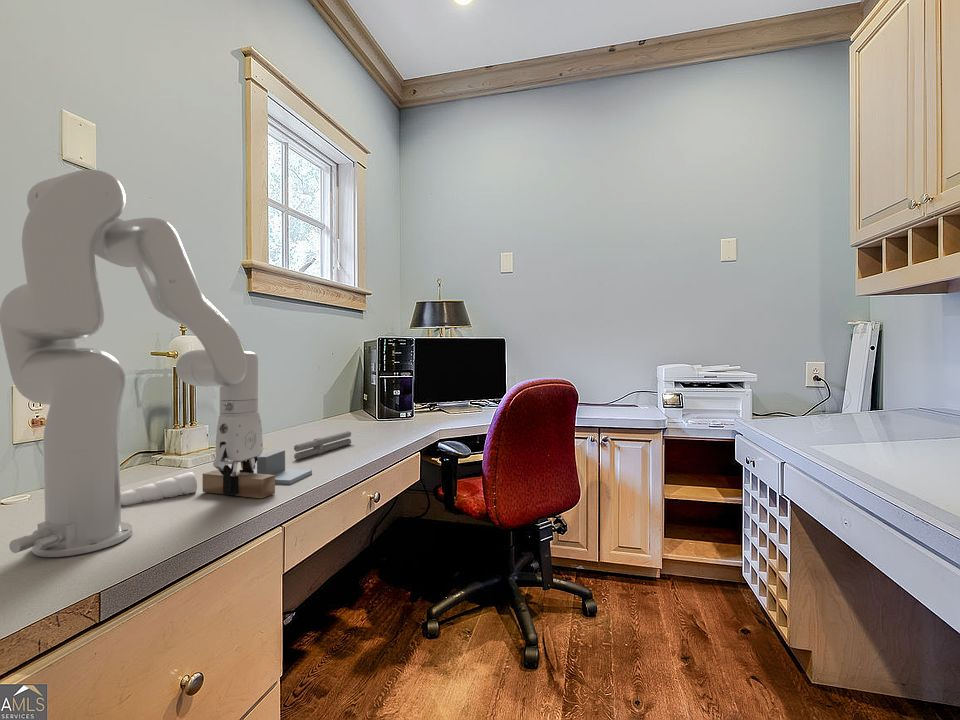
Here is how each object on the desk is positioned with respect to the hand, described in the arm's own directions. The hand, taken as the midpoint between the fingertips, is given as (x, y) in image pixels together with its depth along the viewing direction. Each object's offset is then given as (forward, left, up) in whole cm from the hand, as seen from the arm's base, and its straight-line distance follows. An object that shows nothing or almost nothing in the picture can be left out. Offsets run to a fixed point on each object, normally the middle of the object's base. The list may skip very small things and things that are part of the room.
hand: (238, 490), depth 105 cm
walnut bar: (0, 0, -1) cm, 1 cm away
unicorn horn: (-9, +17, -1) cm, 19 cm away
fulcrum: (+13, +1, -1) cm, 14 cm away
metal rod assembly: (+45, +3, -1) cm, 45 cm away
